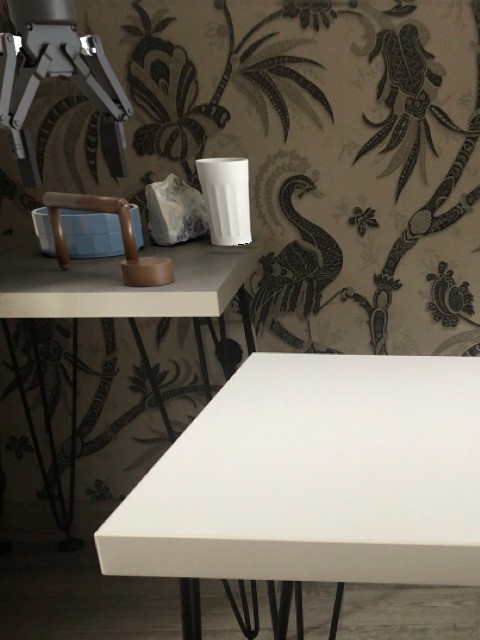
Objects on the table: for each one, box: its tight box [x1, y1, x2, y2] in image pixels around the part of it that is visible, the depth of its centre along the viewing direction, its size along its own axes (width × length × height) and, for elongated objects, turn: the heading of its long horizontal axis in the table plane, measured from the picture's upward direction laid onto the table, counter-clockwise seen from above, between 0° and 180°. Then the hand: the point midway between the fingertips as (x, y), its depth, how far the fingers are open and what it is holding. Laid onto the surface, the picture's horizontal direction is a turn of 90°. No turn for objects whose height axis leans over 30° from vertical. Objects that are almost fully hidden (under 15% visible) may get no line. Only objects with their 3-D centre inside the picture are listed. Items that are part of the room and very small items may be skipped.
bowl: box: [31, 203, 145, 259], centre depth 140 cm, size 15×15×6 cm
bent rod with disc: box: [42, 191, 175, 288], centre depth 121 cm, size 21×6×10 cm, turn 58°
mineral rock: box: [144, 172, 210, 247], centre depth 147 cm, size 13×11×10 cm
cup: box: [194, 157, 253, 247], centre depth 144 cm, size 8×8×12 cm
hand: (78, 182), depth 119 cm, fingers open, 13 cm apart
